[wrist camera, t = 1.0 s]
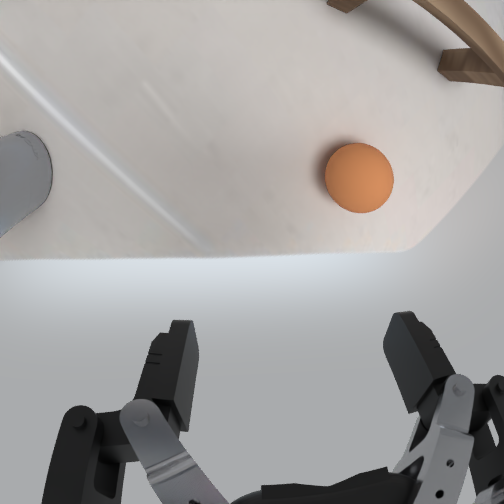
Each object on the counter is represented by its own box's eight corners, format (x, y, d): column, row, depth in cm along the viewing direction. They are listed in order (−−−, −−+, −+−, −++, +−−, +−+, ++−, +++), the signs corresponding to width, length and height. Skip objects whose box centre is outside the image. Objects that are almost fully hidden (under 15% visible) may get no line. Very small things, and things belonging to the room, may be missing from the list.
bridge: (449, 81, 20) (516, 89, 11) (326, 4, 17) (371, -35, 8) (455, 60, 18) (520, 63, 10) (335, -18, 15) (380, -59, 7)
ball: (339, 210, 27) (363, 238, 22) (304, 164, 25) (322, 183, 19) (385, 174, 25) (417, 195, 20) (353, 125, 23) (384, 134, 18)
